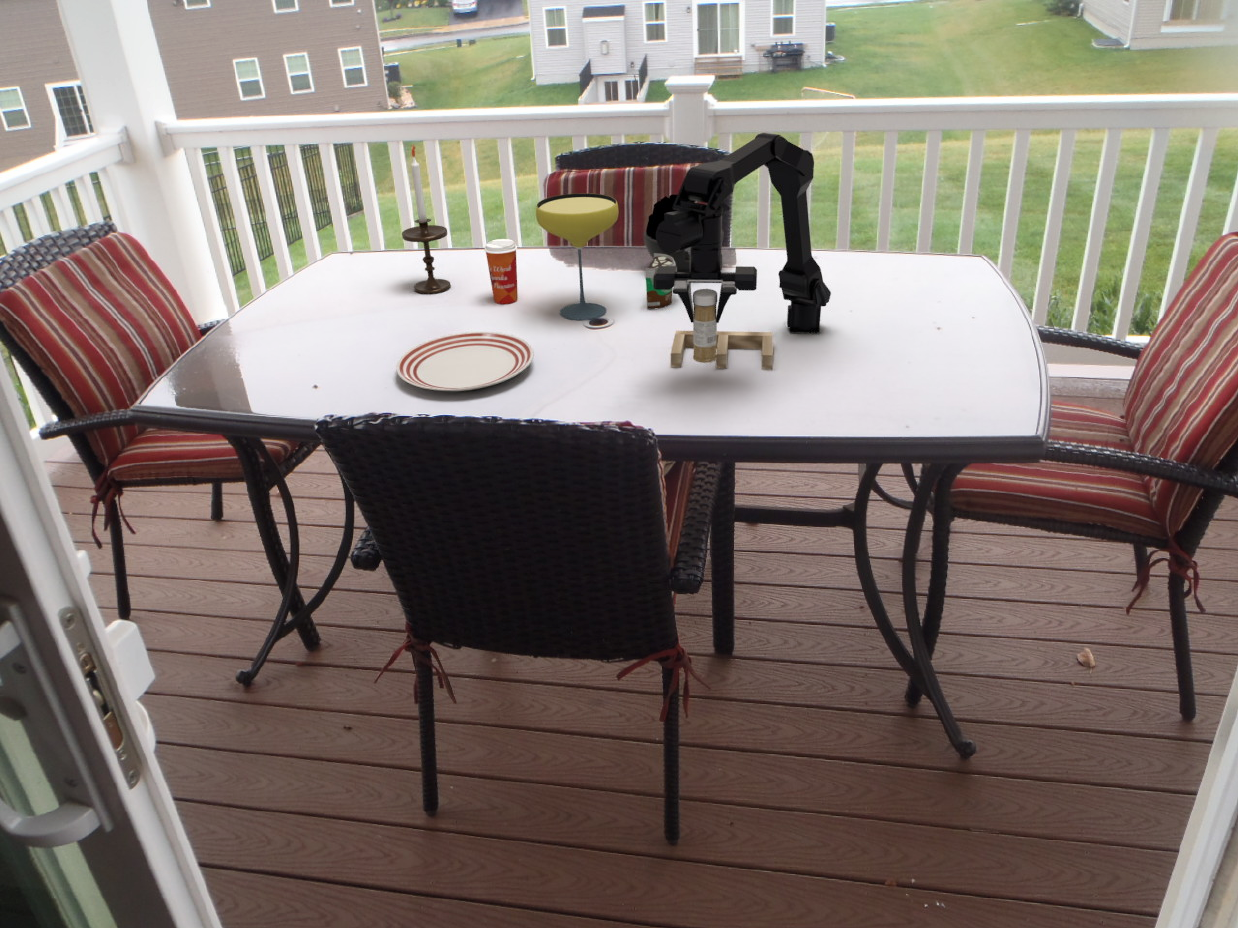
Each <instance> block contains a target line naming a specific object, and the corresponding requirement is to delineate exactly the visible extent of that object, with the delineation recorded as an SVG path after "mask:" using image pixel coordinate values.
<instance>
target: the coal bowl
mask: <svg viewBox="0 0 1238 928" xmlns="http://www.w3.org/2000/svg"><path fill="white" fill-rule="evenodd" d="M677 195H678V193H677V194H674V193H673V194H670V195H669V196H666V195H665V196H663V198H661V199H660V200H658V201H656V202H655V203H654V204H653V208H652V213H651V214H650V215H648V220H647V221H648V222H647V225H646V230H645V231H644V233H643V238H644V239H643V240H644V245H645V247H646V249H647V252H648V253H649V255H650V257H651V258H652V260H653V259H654V253H657V254H665V255H668V256H671V257H672V258H673V259H674V261H675V264H676V266H677V272H690V261H684V250H681V251H678V252H676V253H673V254H668V253H665V252H664V251H663V250H662V249H661V248H660V247H659V245H658V243H657V240H656V231H657V227H658V225H659V224H660V223H661V222H662V221H665V219H664V215H665V213H668V212H675V211H678V210H675V209H673V204H674V202H675V200H676V197H677ZM688 201H690V202H695V203H696V201H694V200H690V199H689V200H688ZM724 236H725V232H724V230H723V229H722V243H723V242H724V241H723V240H724Z"/></svg>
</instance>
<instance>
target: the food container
mask: <svg viewBox="0 0 1238 928" xmlns="http://www.w3.org/2000/svg"><path fill="white" fill-rule="evenodd" d="M658 266H676V264H675V261H674V259H673V258H672V257H671V256H668V255H665V254H657V253H654V259H653V258H652V260H651V262H650V264H649V265H648V267H645V272H644V273H645V275H644V276H645V285H646V287H645V289H646V291H645V292H646V308H647V310H656V309H655V308H658V309H662V308H666V307H669V306H670V305H671V304H672V303H673V302H672V301H673V288H674V287H672V288H671V289H670V290H656V289H654V288H653V278H654V273H655V270H656V268H657V267H658ZM668 305H669V306H668ZM665 306H666V307H665Z"/></svg>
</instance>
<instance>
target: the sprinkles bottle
mask: <svg viewBox="0 0 1238 928" xmlns="http://www.w3.org/2000/svg"><path fill="white" fill-rule="evenodd" d="M692 303H693V311H694V317H693V323H692V324H693V325H692V327H693V329H692V331H693V343H694V348H693V355H692V358H693V360H694V361H695V362H697V363H700V364H701V363H703V364H708V363H712V362H714V361H716V353H717V348H716V337H717V331H718V330H717V324H718V323H716V316H717V306H718V292H717V291H716V290H714V289H712V288H700V289H697V290H694V291H693V293H692Z"/></svg>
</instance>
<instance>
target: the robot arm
mask: <svg viewBox="0 0 1238 928" xmlns="http://www.w3.org/2000/svg"><path fill="white" fill-rule="evenodd" d="M763 166H764V167H766V168H767V171H768V175H769V178H770V182H771V184H772V186H773V187H774V188H775V190H776V191H777V193H778V194H779V195H780V201H781V212H782V221H783V222H782V223H783V231H784V240H785V241H784V242H785V250H786V251H785V252H786V263H784V265H783V267H782V269H781V270H779V271H778V279H779V285H778V287H779V288H780V289H781V292H782V297H783V300H786V301H790V304H789V305H787V314H786V315H787V317H786V327H787V328H788V331H789V334H820V333H821V326H820V325H821V313H822V312H821V311H822V307H826V306H827V303H828V304H829V302H830V300H831V295H832V292H831V290H830V288H828V286H827V284H826V283H825V282H824V280H823V279H824V278H823V273H822V269H821V267H820V266H819V264H818V263H817V261H816V260H815V258H814V257H813V256H812V242H811V231H810V219H809V208H808V196H807V190H808V189H809V187H810V185H811V183H812V181H813V180H814V172H815V170H814V169H815V168H814V167H815V159H814V156H813V153H812V152H810V151H809V150H808V149H804V148H802V147H799V146H797V144H794V143H793V142H790V141H788V140H787V139H786V138H785V137H784V136H782V134H776V133H768V132H761V133H758V134H757V135H755V138H754V139H752V140H750V141H749V142H747V143H745V144H744V145H742V146H741V147H739V148H737V149H736V150H734V151H733V152H731V153H730V154H728V155H726V156H724V158H721V159H719V160H717V161H712V162H711V161H710V162H704V163H701V164H698V165H695V166H692V167H691V168H690V169H688V170H687V172H686V173H685V177H684V179H683V181H682V183H681V186H680V188H679V190H678V193H677V194H678V195H677V194H676V195H677V197H676V200H675V202H674V204H673V209H675V210H678V211H675V212H668V213H665V215H664V219H665V221H662V222H661V223H660V224H659V225H658V227H657V231H656V240H657V243H658V245H659V247H660V248H661V249H662V250H663V251H664V252H665V253H668V254H673V253H676V252H678V251H681V250H684V261H690V272H677V266H658V267H657V268H656V270H655V273H654V278H653V288H654V289H656V290H670V289H671V288H672V287H673V290H672V295H673V294H674V295H678V297H679V298H680V300H681V302H682V303H683V306H684V308H685V310H686V313H687V315H688V318H689V321H690V323H691V324H693V317H694V305H693V304H694V303H693V294H692V283H693V284H696V283H697V284H698V283H699V284H720V291H719V298H718V302H717V308H716V323H717V324H719V322H720V319H721V317H722V314H723V313H724V309H725V306H726V305H727V303H728V301H729V299H730V298H731V296H733V295H737V293H738V291H747V292H748V291H753V292H754V291H756V290H757V283H758V281H757V280H758V270H757V268H756V267H755V266H735V271H734V272H729V271H728V272H723V271H722V270H723V254H722V249H723V248H722V247H723V245H722V244H723V242H722V230H723V213H727V212H729V211H730V210H731V208H730V206H729V205H728V204H726V202H724V201H726V199H727V198H729V196H731V195H732V194H733V192H734V189H735V185H737V183H738V182H739V181H741V180H742V179H744V178H746V177H747V176H749V175H750V174H752V173H754V172H755V171H757V170H758V169H759V168H761V167H763ZM689 199H690V200H694V201H695V202H690V201H688V200H689ZM704 203H705V204H704Z"/></svg>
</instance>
